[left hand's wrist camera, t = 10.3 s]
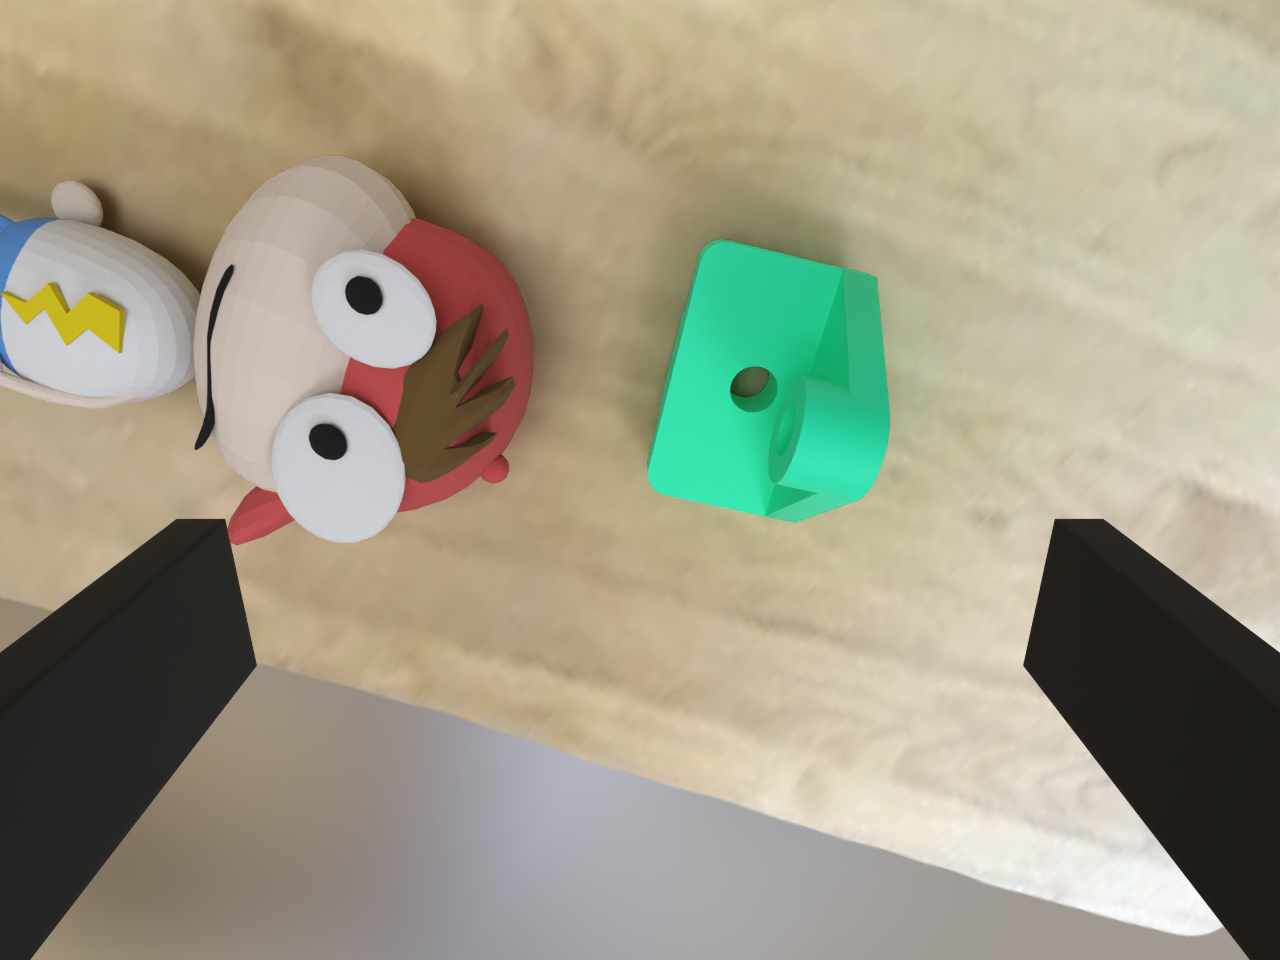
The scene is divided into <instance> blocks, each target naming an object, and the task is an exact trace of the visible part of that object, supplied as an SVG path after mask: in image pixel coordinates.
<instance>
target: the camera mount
mask: <svg viewBox="0 0 1280 960" xmlns="http://www.w3.org/2000/svg"><path fill="white" fill-rule="evenodd" d="M752 366H759V367H763V368H765V369H767V370H769V379H768V382H767V384H766V386H765V388H764V389H763V390H762V391H761V392H760V393H758V394H756V395H754V396H751V397H740V396H737V395H735V394H733V393H732V392H731V391H730V386H731V383H732V380H733V378H734V377H735V376H736V375H737V374H738V373H739V372H740V371H741V370H743V369H745V368H747V367H752ZM889 429H890V410H889V400H888V389H887V379H886V369H885V358H884V348H883V337H882V327H881V316H880V306H879V296H878V285H877V278H876V277H873V276H871V275H869V274H867V273H863V272H858V271H854V270H850V269H846V268H842V267H838V266H834V265H830V264H826V263H821V262H817V261H813V260H809V259H805V258H801V257H797V256H793V255H788V254H784V253H780V252H776V251H772V250H768V249H764V248H760V247H756V246H751V245H747V244H743V243H739V242H735V241H731V240H726V239H718V240H714V241H712V242H710V243H708V244H707V245H706V246H705V247H704V248H703V249H702V251H701V252H700V254H699V257H698V260H697V264H696V268H695V272H694V276H693V280H692V284H691V288H690V292H689V296H688V300H687V304H686V308H685V310H683V311H682V315H681V319H680V323H679V327H678V331H677V335H676V340H675V344H674V348H673V352H672V356H671V360H670V364H669V368H668V372H667V376H666V380H665V384H664V388H663V392H662V396H661V400H660V412H659V416H658V420H657V424H656V428H655V432H654V436H653V440H652V444H651V448H650V452H649V456H648V461H647V469H648V480H649V483H650V485H651V486H652V488H653V489H654V490H656V491H657V492H658V493H660V494H663V495H667V496H672V497H677V498H682V499H686V500H691V501H696V502H700V503H705V504H710V505H714V506H719V507H724V508H728V509H733V510H738V511H742V512H747V513H752V514H757V515H761V516H766V517H771V518H775V519H780V520H785V521H789V522H794V523H795V522H798V521H801V520H804V519H807V518H809V517H812V516H815V515H818V514H821V513H823V512H826V511H829V510H832V509H835V508H838V507H840V506H843V505H846V504H849V503H852V502H854V501H857V500H859V499H861V498H862V497H863V496H864V495H865V494H866V493H867V492H868V491H869V489H870V488H871V486H872V485H873V483H874V481H875V479H876V477H877V475H878V473H879V470H880V468H881V465H882V462H883V459H884V455H885V452H886V448H887V443H888V437H889Z"/></svg>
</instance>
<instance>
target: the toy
mask: <svg viewBox="0 0 1280 960" xmlns="http://www.w3.org/2000/svg"><path fill="white" fill-rule="evenodd" d="M51 204H52V208H53V210H54V213H55V215H56V216H57V218H58V219H56V218H34V219H30V220H25V221H20V222H16V223H15V222H13V221H11V220H10V219H8V218H6V217H5V216H3V215H1V214H0V230H1V232H0V385H1V386H3V387H6V388H9V389H12V390H14V391H17V392H20V393H23V394H26V395H29V396H32V397H35V398H38V399H43V400H47V401H51V402H55V403H59V404H64V405H70V406H76V407H83V408H92V409H101V408H109V407H114V406H118V405H121V404H124V403H131V402H137V401H143V400H149V399H152V398H156V397H159V396H162V395H165V394H168V393H171V392H173V391H175V390H176V389H178V388H179V387H181V386H182V385H184V384H186V383H187V382H188V381H190V380H191V379H192V378H193V377H194V376H195V379H196V392H197V396H198V400H199V404H200V408H201V411H202V414H203V416H204V422H203V426H202V428H201V431H200V433H199V436H198V438H197V441H196V444H195V450H197V449H199V448H200V447H202V446H203V445H204V443H205V442H206V440H207V439H208V437H209V436H210V435H211V437H212V439H213V441H214V443H215V446H216V448H217V450H218V451H219V452H220V454H221V455H222V457H223V458H224V460H225V461H226V462H227V464H228V465H229V466H230V467H231V468H233V469H234V470H235V471H236V472H237V473H238V474H239V475H240V476H242V477H243V478H245V479H246V480H248V481H249V482H251V483H252V484H254V485H256V487H255V488H254V489H253V490H252V491H251V492H249V493H248V494H247V495H246V496H245V497H244V499H243V500H242V502H241V503H240V505H239V506H238V508H237V510H236V511H235V513H234V514H233V516H232V517H231V520H230V523H229V526H228V529H227V530H228V535H229V539H230V543H233V544H236V545H239V544H243V543H246V542H249V541H252V540H255V539H258V538H262V537H264V536H266V535H268V534H270V533H272V532H273V531H275V530H277V529H279V528H281V527H283V526H284V525H286V524H288V523H290V522H292V521H294V520H296V521H297V522H298V523H299V524H300V525H301V526H303V527H304V528H305V529H307V530H308V531H309V532H311V533H312V534H314V535H315V536H318V537H321V538H324V539H327V540H330V541H333V542H350V543H355V542H358V541H361V540H364V539H367V538H369V537H372V536H374V535H376V534H377V533H378V532H379V531H381V530H382V529H383V528H384V527H386V526H387V525H388V523H389V522H390V521H391V520H392V519H393V517H394V516H395V514H396V513H397V512H403V511H408V510H414V509H417V508H420V507H423V506H426V505H429V504H433V503H436V502H439V501H442V500H445V499H447V498H449V497H450V496H452V495H454V494H456V493H457V492H459V491H461V490H463V489H464V488H466V487H468V486H469V485H470V484H471V483H473V482H474V481H475V480H476V479H477V478H478V477H480V476H481V477H482V478H483V480H485V481H487V482H490V483H498V482H501V481H502V480H504V479H505V478H506V477H507V475H508V473H509V464H508V461H507V460H506V459H505V457H504V456H502V455H501V454H502V452H503V451H504V450H505V449H506V447H507V446H508V444H509V442H510V441H511V439H512V437H513V435H514V433H515V431H516V429H517V427H518V425H519V423H520V421H521V420H522V418H523V416H524V412H525V409H526V405H527V402H528V399H529V395H530V390H531V382H532V373H533V346H532V335H531V329H530V323H529V319H528V314H527V310H526V307H525V304H524V301H523V299H522V296H521V294H520V291H519V288H518V286H517V285H516V283H515V281H514V280H513V278H512V276H511V275H510V273H509V272H508V271H507V270H506V268H505V267H504V266H503V265H502V264H501V263H500V262H499V261H498V260H497V259H496V258H495V257H494V256H493V255H492V254H491V253H489V252H488V251H486V250H485V249H484V248H482V247H481V246H479V245H478V244H477V243H475V242H473V241H471V240H469V239H467V238H465V237H463V236H461V235H460V234H458V233H456V232H454V231H451V230H448V229H445V228H443V227H440V226H437V225H434V224H431V223H429V222H426V221H423V220H420V219H417V218H416V217H415V215H414V212H413V210H412V208H411V207H410V205H409V204H408V202H407V201H406V199H405V197H404V196H403V194H402V193H401V192H400V191H399V190H398V189H397V188H396V187H395V186H394V185H393V184H392V182H391V181H390V180H389V179H387V178H386V177H384V176H383V175H381V174H379V173H378V172H376V171H375V170H373V169H371V168H369V167H368V166H366V165H364V164H362V163H360V162H359V161H356V160H352V159H349V158H346V157H343V156H319V157H315V158H311V159H308V160H304V161H302V162H300V163H298V164H296V165H294V166H292V167H290V168H289V169H287V170H285V171H283V172H281V173H279V174H277V175H275V176H274V177H272V178H270V179H268V180H267V181H266V182H265V183H264V184H263V185H262V186H261V187H259V188H258V189H257V190H256V191H255V192H254V193H253V194H252V196H251V197H250V198H249V199H248V201H247V202H246V203H245V204H244V206H243V207H242V208H241V209H240V210H239V212H238V213H237V214H236V216H235V217H234V218H233V220H232V221H231V223H230V224H229V225H228V227H227V229H226V231H225V233H224V235H223V237H222V239H221V241H220V243H219V244H218V246H217V248H216V250H215V252H214V255H213V258H212V261H211V263H210V266H209V269H208V272H207V275H206V278H205V281H204V283H203V287H202V291H201V296H200V294H199V292H198V291H197V290H196V288H195V287H194V286H193V285H192V283H191V282H190V281H189V279H188V278H187V277H186V276H185V274H184V273H183V272H181V271H180V270H179V269H178V268H176V267H175V266H174V265H173V264H172V263H170V262H169V261H168V260H167V259H165V258H164V257H162V256H161V255H159V254H157V253H155V252H154V251H152V250H150V249H148V248H147V247H145V246H143V245H142V244H140V243H138V242H136V241H135V240H132V239H130V238H127V237H125V236H122V235H120V234H117V233H114V232H112V231H109V230H107V229H104V228H101V227H100V225H101V223H102V220H103V210H102V206H101V202H100V201H99V199H98V198H97V196H96V195H95V193H94V192H93V191H92V190H91V189H90V188H89V187H87V186H86V185H84V184H82V183H80V182H77V181H71V180H68V181H63V182H61V183H59V184H58V185H57V186H55V188H54V189H53V192H52V196H51ZM1 362H2V363H3V364H4V365H5V366H6V367H7V368H9V369H10V370H11V371H12V372H14V373H15V374H17V375H18V376H20V377H21V378H19V377H17V376H14V375H11V374H9V373H6V372H3V367H2V363H1ZM22 378H23V379H22Z"/></svg>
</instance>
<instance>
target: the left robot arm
mask: <svg viewBox="0 0 1280 960" xmlns="http://www.w3.org/2000/svg"><path fill="white" fill-rule="evenodd" d="M256 666H257V664H256V660H255V655H254V650H253V646H252V641H251V636H250V632H249V627H248V623H247V618H246V613H245V609H244V604H243V599H242V595H241V590H240V586H239V581H238V576H237V572H236V567H235V562H234V558H233V553H232V549H231V544H230V539H229V535H228V530H227V525H226V521H225V519H176V520H175V521H173V522H172V523H171V524H169V525H168V526H167V527H165V528H164V529H163V530H162V531H160V532H159V533H158V534H156V535H155V536H154V537H152V538H151V539H150V540H148V541H147V542H146V543H144V544H143V545H142V546H140V547H139V548H138V549H136V550H135V551H134V552H132V553H131V554H130V555H129V556H127V557H126V558H125V559H123V560H122V561H121V562H119V563H118V564H117V565H115V566H114V567H113V568H111V569H110V570H109V571H107V572H106V573H105V574H103V575H102V576H101V577H99V578H98V579H97V580H96V581H94V582H93V583H92V584H90V585H89V586H88V587H86V588H85V589H84V590H82V591H81V592H80V593H78V594H77V595H76V596H74V597H73V598H72V599H70V600H69V601H68V602H66V603H65V604H64V605H63V606H61V607H60V608H59V609H57V610H56V611H55V612H53V613H52V614H51V615H49V616H48V617H47V618H45V619H44V620H43V621H41V622H40V623H39V624H37V625H36V626H35V627H33V628H32V629H31V630H30V631H28V632H27V633H26V634H24V635H23V636H22V637H20V638H19V639H18V640H16V641H15V642H14V643H12V644H11V645H10V646H9V647H7V648H6V649H4V650H3V651H2V652H1V653H0V960H30V959H31V958H32V957H33V955H34V954H35V953H36V952H37V950H38V949H39V948H40V946H41V945H42V944H43V942H44V941H45V940H46V939H47V937H48V936H49V935H50V933H51V932H52V931H53V929H54V928H55V927H56V926H57V924H58V923H59V922H60V920H61V919H62V918H63V917H64V915H65V914H66V913H67V911H68V910H69V909H70V907H71V906H72V905H73V904H74V902H75V901H76V900H77V898H78V897H79V896H80V894H81V893H82V892H83V891H84V889H85V888H86V887H87V885H88V884H89V883H90V881H91V880H92V879H93V878H94V876H95V875H96V874H97V872H98V871H99V870H100V868H101V867H102V866H103V865H104V863H105V862H106V861H107V859H108V858H109V857H110V855H111V854H112V853H113V852H114V850H115V849H116V848H117V846H118V845H119V844H120V842H121V841H122V840H123V839H124V837H125V836H126V835H127V833H128V832H129V831H130V830H131V828H132V827H133V825H134V824H135V823H136V822H137V820H138V819H139V818H140V816H141V815H142V814H143V813H144V811H145V810H146V809H147V807H148V806H149V805H150V804H151V802H152V801H153V800H154V798H155V797H156V796H157V794H158V793H159V792H160V790H161V789H162V788H163V787H164V785H165V784H166V783H167V781H168V780H169V779H170V778H171V776H172V775H173V774H174V772H175V771H176V770H177V768H178V767H179V766H180V765H181V763H182V762H183V761H184V759H185V758H186V757H187V755H188V754H189V753H190V752H191V750H192V749H193V748H194V746H195V745H196V744H197V742H198V741H199V740H200V739H201V737H202V736H203V735H204V733H205V732H206V731H207V730H208V728H209V727H210V726H211V724H212V723H213V722H214V720H215V719H216V718H217V717H218V715H219V714H220V713H221V711H222V710H223V709H224V707H225V706H226V705H227V704H228V702H229V701H230V700H231V698H232V697H233V696H234V694H235V693H236V692H237V691H238V689H239V688H240V687H241V685H242V684H243V683H244V682H245V680H246V679H247V678H248V676H249V675H250V674H251V672H252V671H253V670H254V669H255V667H256ZM1023 666H1024V667H1025V669H1026V670H1027V671H1028V672H1029V674H1030V675H1031V676H1032V678H1033V679H1034V680H1035V682H1036V683H1037V684H1038V685H1039V687H1040V688H1041V689H1042V691H1043V692H1044V693H1045V694H1046V696H1047V697H1048V698H1049V700H1050V701H1051V702H1052V704H1053V705H1054V706H1055V707H1056V709H1057V710H1058V711H1059V713H1060V714H1061V715H1062V717H1063V718H1064V719H1065V720H1066V722H1067V723H1068V724H1069V726H1070V727H1071V728H1072V730H1073V731H1074V732H1075V733H1076V735H1077V736H1078V737H1079V739H1080V740H1081V741H1082V743H1083V744H1084V745H1085V746H1086V748H1087V749H1088V750H1089V752H1090V753H1091V754H1092V756H1093V757H1094V758H1095V759H1096V761H1097V762H1098V763H1099V765H1100V766H1101V767H1102V768H1103V770H1104V771H1105V772H1106V774H1107V775H1108V776H1109V778H1110V779H1111V780H1112V781H1113V783H1114V784H1115V785H1116V787H1117V788H1118V789H1119V791H1120V792H1121V793H1122V794H1123V796H1124V797H1125V798H1126V800H1127V801H1128V802H1129V804H1130V805H1131V806H1132V807H1133V809H1134V810H1135V811H1136V813H1137V814H1138V815H1139V817H1140V818H1141V819H1142V820H1143V822H1144V823H1145V824H1146V826H1147V827H1148V828H1149V830H1150V831H1151V832H1152V833H1153V835H1154V836H1155V837H1156V839H1157V840H1158V841H1159V843H1160V844H1161V845H1162V846H1163V848H1164V849H1165V850H1166V852H1167V853H1168V854H1169V855H1170V857H1171V858H1172V859H1173V861H1174V862H1175V863H1176V865H1177V866H1178V867H1179V868H1180V870H1181V871H1182V872H1183V874H1184V875H1185V876H1186V878H1187V879H1188V880H1189V881H1190V883H1191V884H1192V885H1193V887H1194V888H1195V889H1196V891H1197V892H1198V893H1199V894H1200V896H1201V897H1202V898H1203V900H1204V901H1205V902H1206V904H1207V905H1208V906H1209V907H1210V909H1211V910H1212V911H1213V913H1214V914H1215V915H1216V917H1217V918H1218V919H1219V920H1220V922H1221V923H1222V924H1223V926H1224V927H1225V928H1226V929H1227V931H1228V932H1229V933H1230V935H1231V936H1232V937H1233V939H1234V940H1235V941H1236V942H1237V944H1238V945H1239V946H1240V948H1241V949H1242V950H1243V952H1244V953H1245V954H1246V955H1247V957H1248V958H1249V959H1250V960H1280V653H1279V652H1278V651H1277V650H1276V649H1274V648H1273V647H1272V646H1270V645H1269V644H1268V643H1266V642H1265V641H1264V640H1262V639H1261V638H1260V637H1258V636H1257V635H1256V634H1254V633H1253V632H1252V631H1250V630H1249V629H1248V628H1247V627H1245V626H1244V625H1243V624H1241V623H1240V622H1239V621H1237V620H1236V619H1235V618H1233V617H1232V616H1231V615H1229V614H1228V613H1227V612H1225V611H1224V610H1223V609H1221V608H1220V607H1219V606H1217V605H1216V604H1215V603H1214V602H1212V601H1211V600H1210V599H1208V598H1207V597H1206V596H1204V595H1203V594H1202V593H1200V592H1199V591H1198V590H1196V589H1195V588H1194V587H1192V586H1191V585H1190V584H1188V583H1187V582H1186V581H1184V580H1183V579H1182V578H1181V577H1179V576H1178V575H1177V574H1175V573H1174V572H1173V571H1171V570H1170V569H1169V568H1167V567H1166V566H1165V565H1163V564H1162V563H1161V562H1159V561H1158V560H1157V559H1155V558H1154V557H1153V556H1151V555H1150V554H1149V553H1148V552H1146V551H1145V550H1144V549H1142V548H1141V547H1140V546H1138V545H1137V544H1136V543H1134V542H1133V541H1132V540H1130V539H1129V538H1128V537H1126V536H1125V535H1124V534H1122V533H1121V532H1120V531H1118V530H1117V529H1116V528H1115V527H1113V526H1112V525H1111V524H1109V523H1108V522H1107V521H1105V520H1104V519H1055V521H1054V525H1053V530H1052V535H1051V539H1050V544H1049V549H1048V553H1047V558H1046V562H1045V567H1044V572H1043V576H1042V581H1041V586H1040V590H1039V595H1038V599H1037V604H1036V609H1035V613H1034V618H1033V623H1032V627H1031V632H1030V636H1029V641H1028V646H1027V650H1026V655H1025V660H1024V664H1023Z"/></svg>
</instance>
